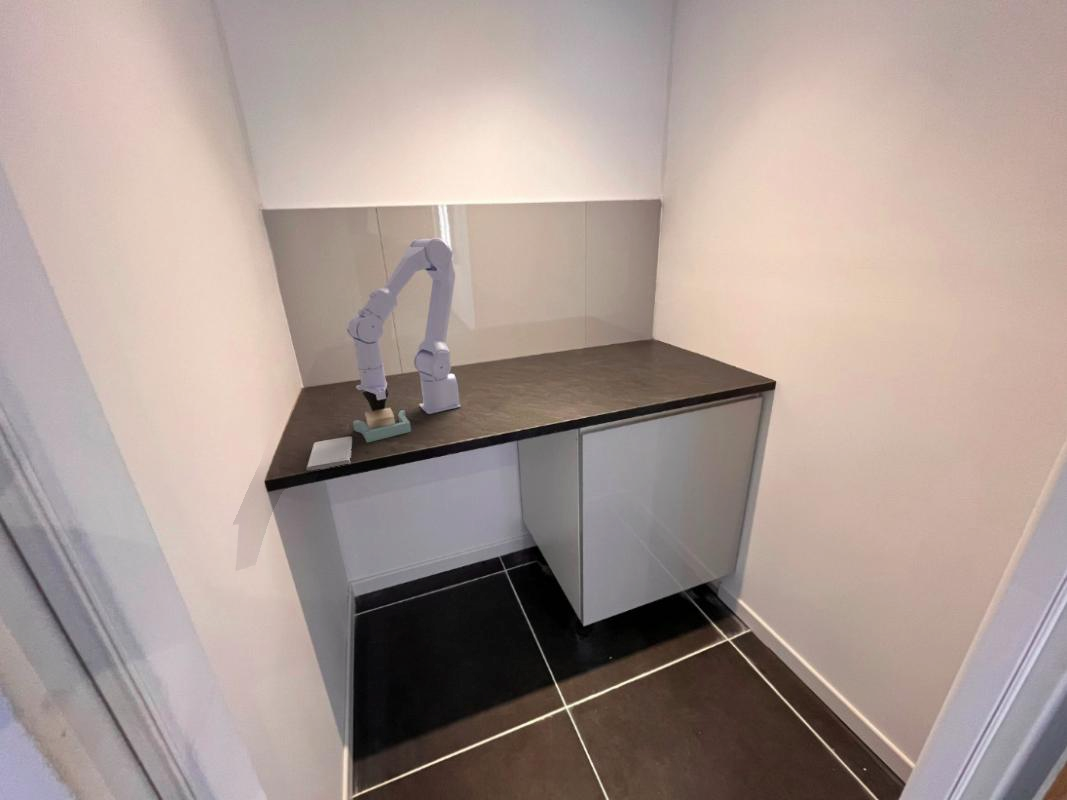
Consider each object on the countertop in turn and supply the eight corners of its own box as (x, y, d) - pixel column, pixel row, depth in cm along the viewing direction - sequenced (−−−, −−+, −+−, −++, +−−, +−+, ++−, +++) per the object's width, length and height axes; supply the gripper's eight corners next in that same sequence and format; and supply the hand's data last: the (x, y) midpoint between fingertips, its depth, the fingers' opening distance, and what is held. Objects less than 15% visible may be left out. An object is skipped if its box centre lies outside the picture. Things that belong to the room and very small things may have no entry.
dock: (405, 418, 110) (404, 409, 109) (416, 430, 103) (414, 421, 102) (354, 430, 104) (352, 420, 103) (361, 444, 96) (359, 434, 96)
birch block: (392, 423, 107) (390, 407, 105) (396, 433, 101) (394, 416, 100) (368, 428, 104) (365, 412, 102) (370, 438, 99) (367, 421, 97)
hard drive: (349, 459, 87) (351, 435, 98) (305, 467, 85) (313, 441, 96) (350, 466, 88) (352, 441, 99) (307, 474, 86) (314, 448, 96)
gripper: (348, 362, 105) (357, 412, 109) (359, 376, 93) (369, 431, 98) (377, 357, 108) (385, 406, 113) (391, 371, 96) (399, 424, 101)
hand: (379, 417), depth 106 cm, fingers closed
